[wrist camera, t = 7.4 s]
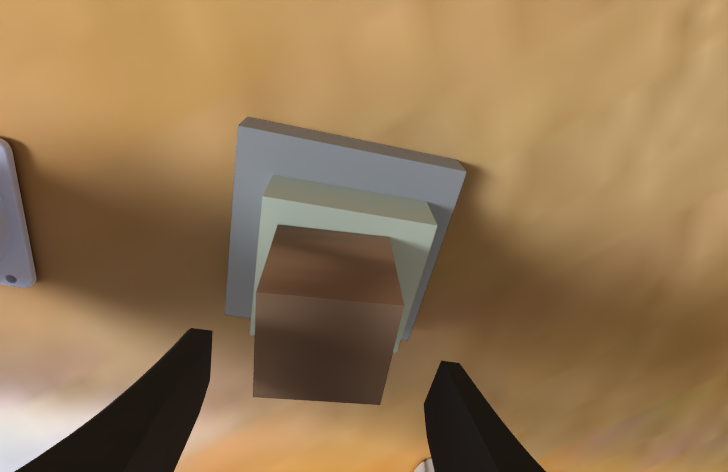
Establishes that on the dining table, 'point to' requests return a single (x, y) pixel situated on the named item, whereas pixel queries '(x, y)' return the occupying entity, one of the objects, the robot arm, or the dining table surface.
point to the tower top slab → (350, 226)
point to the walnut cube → (326, 316)
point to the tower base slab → (335, 167)
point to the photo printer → (425, 466)
